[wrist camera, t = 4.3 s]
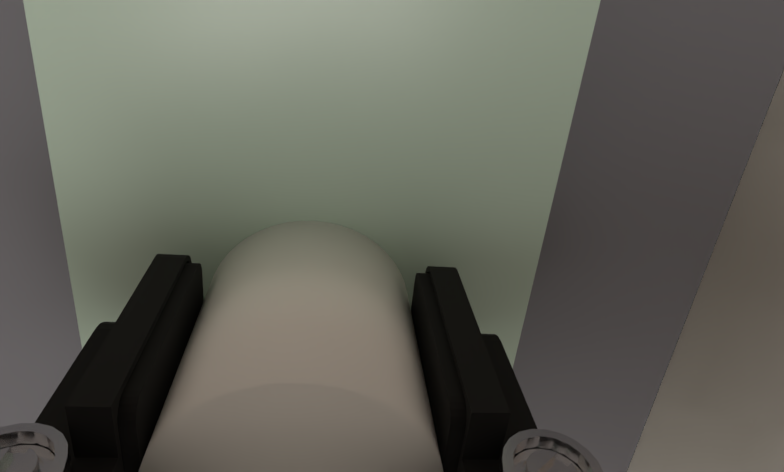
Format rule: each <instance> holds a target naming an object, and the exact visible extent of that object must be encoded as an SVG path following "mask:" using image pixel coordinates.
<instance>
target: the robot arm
mask: <svg viewBox="0 0 784 472" xmlns="http://www.w3.org/2000/svg"><path fill="white" fill-rule="evenodd" d="M203 302H204V297H203V278H202V267H201V264H200V263H192V261H191V257H190V256H189V255H173V254H157V255H156V256H155V257H154V259H153V261H152V262H151V264H150V266H149V267H148V269H147V271H146V272H145V274H144V276H143V277H142V279H141V281H140V282H139V284H138V286H137V287H136V289H135V291H134V292H133V294H132V296H131V297H130V299H129V301H128V302H127V304H126V306H125V307H124V309H123V311H122V312H121V314H120V316H119V317H118V319H117V321H116V322H102V323H100V324H99V325H98V326H97V327H96V328H95V330H94V331H93V333H92V335H91V336H90V338H89V339H88V341H87V342H86V344H85V345H84V347H83V349H82V350H81V352H80V353H79V355H78V356H77V358H76V359H75V361H74V362H73V364H72V366H71V367H70V369H69V370H68V372H67V373H66V375H65V376H64V378H63V379H62V381H61V383H60V384H59V386H58V387H57V389H56V390H55V392H54V393H53V395H52V396H51V398H50V400H49V401H48V403H47V404H46V406H45V407H44V409H43V410H42V412H41V414H40V415H39V417H38V418H37V420H36V421H35V423H19V424H14V425H9V426H4V427H0V472H138V471H139V468H140V466H141V463H142V460H143V457H144V455H145V452H146V450H147V447H148V444H149V442H150V439H151V437H152V434H153V432H154V429H155V426H156V424H157V421H158V419H159V416H160V413H161V411H162V408H163V406H164V403H165V400H166V398H167V395H168V393H169V390H170V387H171V385H172V382H173V380H174V377H175V374H176V372H177V369H178V367H179V364H180V362H181V359H182V356H183V354H184V351H185V349H186V346H187V343H188V341H189V338H190V336H191V333H192V330H193V328H194V325H195V323H196V320H197V317H198V315H199V312H200V310H201V307H202V305H203ZM411 314H412V319H413V324H414V329H415V333H416V338H417V343H418V348H419V353H420V358H421V363H422V368H423V373H424V378H425V383H426V388H427V393H428V398H429V403H430V408H431V412H432V417H433V422H434V427H435V432H436V437H437V442H438V447H439V452H440V457H441V462H442V467H443V471H444V472H603V470H602V468H601V466H600V464H599V462H598V461H597V459H596V458H595V457H594V456H593V455H592V454H591V452H590V451H589V450H588V449H586V448H585V447H584V446H582V445H581V444H580V443H578V442H577V441H576V440H574V439H572V438H570V437H568V436H566V435H564V434H562V433H558V432H554V431H550V430H547V429H537V426H536V424H535V421H534V419H533V417H532V414H531V412H530V409H529V407H528V405H527V402H526V400H525V397H524V395H523V393H522V390H521V388H520V385H519V383H518V381H517V378H516V376H515V373H514V371H513V369H512V366H511V364H510V361H509V359H508V357H507V354H506V352H505V349H504V347H503V345H502V342H501V340H500V338H499V337H498V336H497V335H496V334H481V332H480V329H479V327H478V324H477V321H476V319H475V316H474V313H473V311H472V308H471V305H470V302H469V300H468V297H467V294H466V292H465V289H464V286H463V284H462V281H461V278H460V276H459V273H458V270H457V269H456V268H455V267H436V266H428V267H427V268H426V271H425V273H417V274H416V276H415V282H414V290H413V297H412V305H411Z"/></svg>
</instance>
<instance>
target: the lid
mask: <svg viewBox="0 0 784 472" xmlns="http://www.w3.org/2000/svg"><path fill="white" fill-rule="evenodd" d="M600 1H601V0H23V3H24V9H25V15H26V21H27V27H28V33H29V39H30V44H31V50H32V56H33V62H34V68H35V74H36V80H37V86H38V92H39V98H40V103H41V109H42V115H43V121H44V127H45V133H46V139H47V145H48V151H49V157H50V162H51V168H52V174H53V180H54V186H55V192H56V198H57V204H58V210H59V216H60V221H61V227H62V233H63V239H64V245H65V251H66V257H67V263H68V269H69V274H70V280H71V286H72V292H73V298H74V304H75V310H76V316H77V322H78V328H79V333H80V339H81V345H82V349H83V347H84V345H85V344H86V342H87V341H88V339H89V338H90V336H91V335H92V333H93V331H94V330H95V328H96V327H97V326H98V325H99V324H100V323H102V322H116V321H117V319H118V317H119V316H120V314H121V312H122V311H123V309H124V307H125V306H126V304H127V302H128V301H129V299H130V297H131V296H132V294H133V292H134V291H135V289H136V287H137V286H138V284H139V282H140V281H141V279H142V277H143V276H144V274H145V272H146V271H147V269H148V267H149V266H150V264H151V262H152V261H153V259H154V257H155V256H156V255H157V254H173V255H189V256H190V257H191V261H192V263H200V264H201V267H202V278H203V297H204V302H203V305H202V307H201V310H200V312H199V315H198V317H197V320H196V323H195V325H194V328H193V330H192V333H191V336H190V338H189V341H188V343H187V346H186V349H185V351H184V354H183V356H182V359H181V362H180V364H179V367H178V369H177V372H176V374H175V377H174V380H173V382H172V385H171V387H170V390H169V393H168V395H167V398H166V400H165V403H164V406H163V408H162V411H161V413H160V416H159V419H158V421H157V424H156V426H155V429H154V432H153V434H152V437H151V439H150V442H149V444H148V447H147V450H146V452H145V455H144V457H143V460H142V463H141V466H140V468H139V471H138V472H444V471H443V467H442V462H441V457H440V452H439V447H438V442H437V437H436V432H435V427H434V422H433V417H432V412H431V408H430V403H429V398H428V393H427V388H426V383H425V378H424V373H423V368H422V363H421V358H420V353H419V348H418V343H417V338H416V333H415V329H414V324H413V319H412V314H411V305H412V297H413V290H414V282H415V276H416V274H417V273H425V271H426V268H427V267H428V266H436V267H455V268H456V269H457V270H458V273H459V276H460V278H461V281H462V284H463V286H464V289H465V292H466V294H467V297H468V300H469V302H470V305H471V308H472V311H473V313H474V316H475V319H476V321H477V324H478V327H479V329H480V332H481V334H496V335H497V336H498V337H499V338H500V340H501V342H502V345H503V347H504V349H505V352H506V354H507V357H508V359H509V361H510V364H511V366H512V369H513V365H514V361H515V357H516V352H517V348H518V344H519V340H520V336H521V331H522V327H523V323H524V319H525V315H526V311H527V306H528V302H529V298H530V294H531V290H532V285H533V281H534V277H535V273H536V269H537V265H538V260H539V256H540V252H541V248H542V244H543V239H544V235H545V231H546V227H547V223H548V218H549V214H550V210H551V206H552V202H553V198H554V193H555V189H556V185H557V181H558V177H559V172H560V168H561V164H562V160H563V156H564V152H565V147H566V143H567V139H568V135H569V131H570V126H571V122H572V118H573V114H574V110H575V105H576V101H577V97H578V93H579V89H580V85H581V80H582V76H583V72H584V68H585V64H586V59H587V55H588V51H589V47H590V43H591V39H592V34H593V30H594V26H595V22H596V18H597V13H598V9H599V5H600Z"/></svg>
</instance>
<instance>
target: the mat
mask: <svg viewBox="0 0 784 472" xmlns="http://www.w3.org/2000/svg"><path fill="white" fill-rule="evenodd" d="M783 70H784V0H601V1H600V5H599V9H598V13H597V18H596V22H595V26H594V30H593V34H592V39H591V43H590V47H589V51H588V55H587V59H586V64H585V68H584V72H583V76H582V80H581V85H580V89H579V93H578V97H577V101H576V105H575V110H574V114H573V118H572V122H571V126H570V131H569V135H568V139H567V143H566V147H565V152H564V156H563V160H562V164H561V168H560V172H559V177H558V181H557V185H556V189H555V193H554V198H553V202H552V206H551V210H550V214H549V218H548V223H547V227H546V231H545V235H544V239H543V244H542V248H541V252H540V256H539V260H538V265H537V269H536V273H535V277H534V281H533V285H532V290H531V294H530V298H529V302H528V306H527V311H526V315H525V319H524V323H523V327H522V331H521V336H520V340H519V344H518V348H517V352H516V357H515V361H514V365H513V371H514V373H515V376H516V378H517V381H518V383H519V385H520V388H521V390H522V393H523V395H524V397H525V400H526V402H527V405H528V407H529V409H530V412H531V414H532V417H533V419H534V421H535V424H536V426H537V429H547V430H550V431H554V432H558V433H562V434H564V435H566V436H568V437H570V438H572V439H574V440H576V441H577V442H578V443H580V444H581V445H582V446H584V447H585V448H586V449H588V450H589V451H590V452H591V454H592V455H593V456H594V457H595V458H596V459H597V461H598V462H599V464H600V466H601V468H602V470H603V472H627V470H628V467H629V465H630V462H631V459H632V457H633V454H634V452H635V449H636V447H637V444H638V442H639V439H640V436H641V434H642V431H643V429H644V426H645V424H646V421H647V418H648V416H649V413H650V411H651V408H652V406H653V403H654V401H655V398H656V395H657V393H658V390H659V388H660V385H661V383H662V380H663V377H664V375H665V372H666V370H667V367H668V365H669V362H670V360H671V357H672V354H673V352H674V349H675V347H676V344H677V342H678V339H679V336H680V334H681V331H682V329H683V326H684V324H685V321H686V319H687V316H688V313H689V311H690V308H691V306H692V303H693V301H694V298H695V295H696V293H697V290H698V288H699V285H700V283H701V280H702V278H703V275H704V272H705V270H706V267H707V265H708V262H709V260H710V257H711V254H712V252H713V249H714V247H715V244H716V242H717V239H718V237H719V234H720V231H721V229H722V226H723V224H724V221H725V219H726V216H727V213H728V211H729V208H730V206H731V203H732V201H733V198H734V196H735V193H736V190H737V188H738V185H739V183H740V180H741V178H742V175H743V172H744V170H745V167H746V165H747V162H748V160H749V157H750V155H751V152H752V149H753V147H754V144H755V142H756V139H757V137H758V134H759V131H760V129H761V126H762V124H763V121H764V119H765V116H766V114H767V111H768V108H769V106H770V103H771V101H772V98H773V96H774V93H775V90H776V88H777V85H778V83H779V80H780V78H781V75H782V73H783ZM81 350H82V345H81V339H80V333H79V328H78V322H77V316H76V310H75V304H74V298H73V292H72V286H71V280H70V274H69V269H68V263H67V257H66V251H65V245H64V239H63V233H62V227H61V221H60V216H59V210H58V204H57V198H56V192H55V186H54V180H53V174H52V168H51V162H50V157H49V151H48V145H47V139H46V133H45V127H44V121H43V115H42V109H41V103H40V98H39V92H38V86H37V80H36V74H35V68H34V62H33V56H32V50H31V44H30V39H29V33H28V27H27V21H26V15H25V9H24V3H23V0H0V427H4V426H9V425H14V424H19V423H35V421H36V420H37V418H38V417H39V415H40V414H41V412H42V410H43V409H44V407H45V406H46V404H47V403H48V401H49V400H50V398H51V396H52V395H53V393H54V392H55V390H56V389H57V387H58V386H59V384H60V383H61V381H62V379H63V378H64V376H65V375H66V373H67V372H68V370H69V369H70V367H71V366H72V364H73V362H74V361H75V359H76V358H77V356H78V355H79V353H80V352H81Z"/></svg>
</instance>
